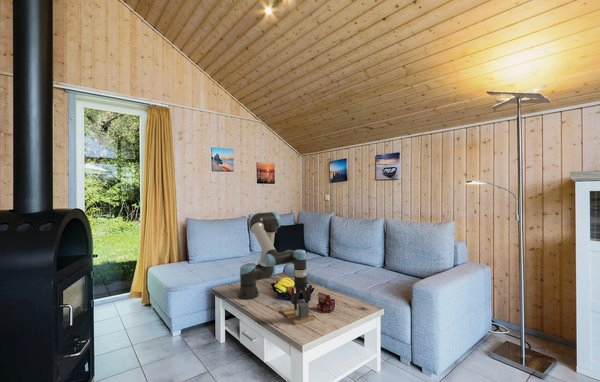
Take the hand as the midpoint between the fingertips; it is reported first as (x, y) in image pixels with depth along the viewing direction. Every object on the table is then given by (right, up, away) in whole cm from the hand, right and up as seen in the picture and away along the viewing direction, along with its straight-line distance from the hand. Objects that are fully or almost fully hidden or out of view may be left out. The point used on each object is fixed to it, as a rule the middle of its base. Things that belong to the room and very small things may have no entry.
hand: (301, 313), depth 177 cm
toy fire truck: (+16, -3, +13) cm, 21 cm away
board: (-3, -3, +5) cm, 7 cm away
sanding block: (0, -1, 0) cm, 1 cm away
